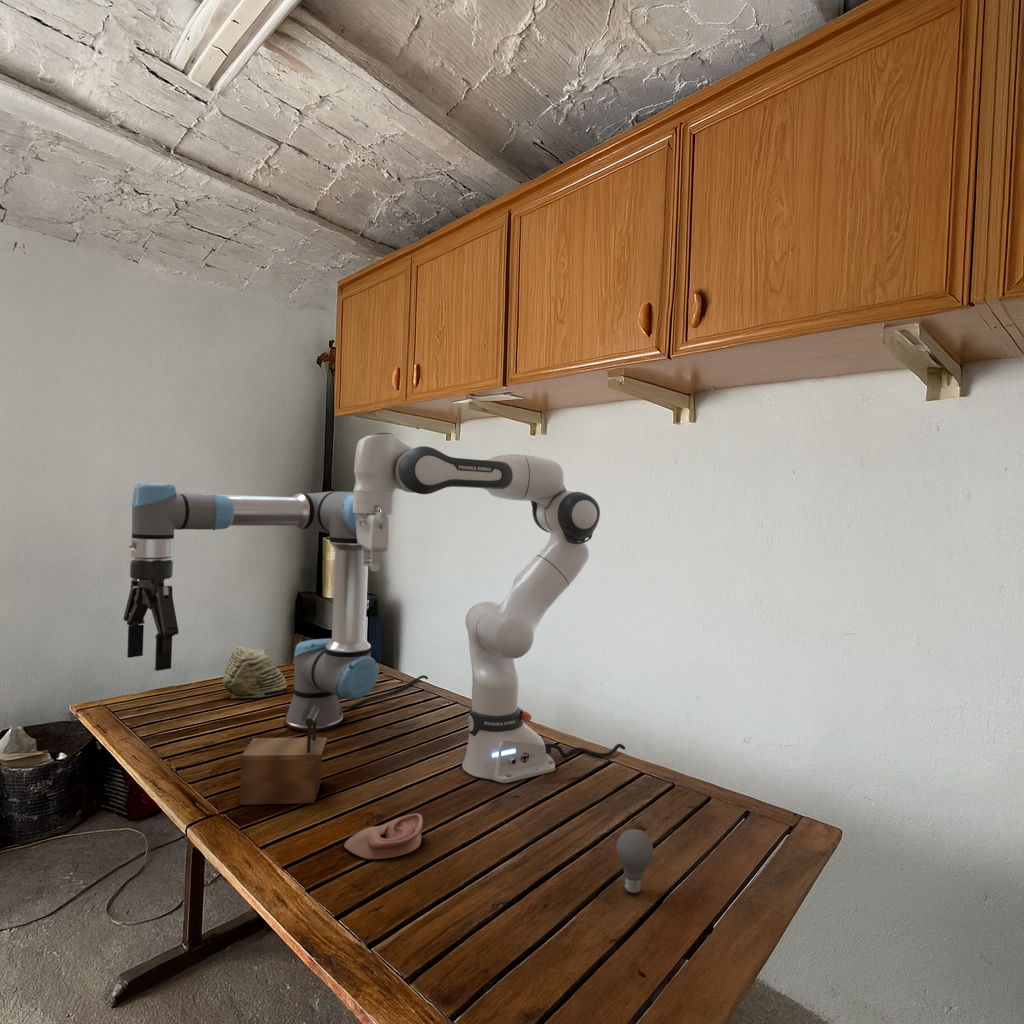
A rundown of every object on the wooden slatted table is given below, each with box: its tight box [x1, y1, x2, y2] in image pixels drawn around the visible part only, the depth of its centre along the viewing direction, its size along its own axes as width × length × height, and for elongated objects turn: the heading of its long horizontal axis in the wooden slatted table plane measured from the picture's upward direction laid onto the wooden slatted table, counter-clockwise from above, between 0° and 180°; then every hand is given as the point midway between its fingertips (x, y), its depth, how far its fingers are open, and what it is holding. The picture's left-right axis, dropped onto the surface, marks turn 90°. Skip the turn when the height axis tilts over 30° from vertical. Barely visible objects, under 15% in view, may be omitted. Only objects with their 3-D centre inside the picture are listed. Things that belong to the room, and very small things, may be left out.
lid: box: [240, 706, 328, 761], centre depth 134 cm, size 16×9×8 cm, turn 98°
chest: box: [239, 756, 323, 806], centre depth 134 cm, size 15×9×9 cm, turn 98°
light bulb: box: [615, 828, 654, 894], centre depth 106 cm, size 6×6×10 cm
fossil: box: [222, 646, 288, 699], centre depth 198 cm, size 9×18×15 cm, turn 132°
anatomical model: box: [343, 813, 424, 860], centre depth 117 cm, size 13×4×12 cm
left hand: (148, 662), depth 129 cm, fingers open, 13 cm apart
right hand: (370, 568), depth 140 cm, fingers open, 8 cm apart
